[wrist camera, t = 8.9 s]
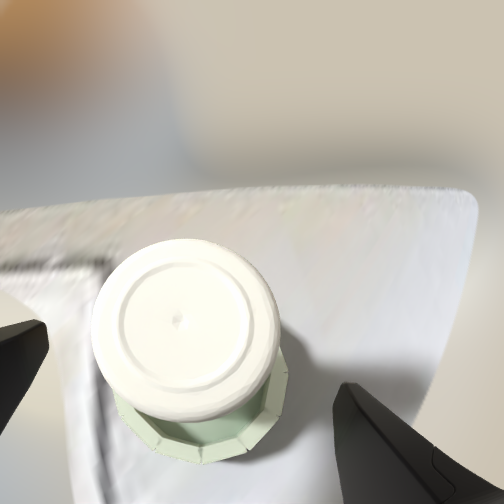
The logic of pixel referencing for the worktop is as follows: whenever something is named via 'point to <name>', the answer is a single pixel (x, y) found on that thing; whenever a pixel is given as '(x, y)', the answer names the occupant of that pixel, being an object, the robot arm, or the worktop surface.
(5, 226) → the worktop surface
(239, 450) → the dish
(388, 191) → the worktop surface
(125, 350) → the sprinkles bottle
